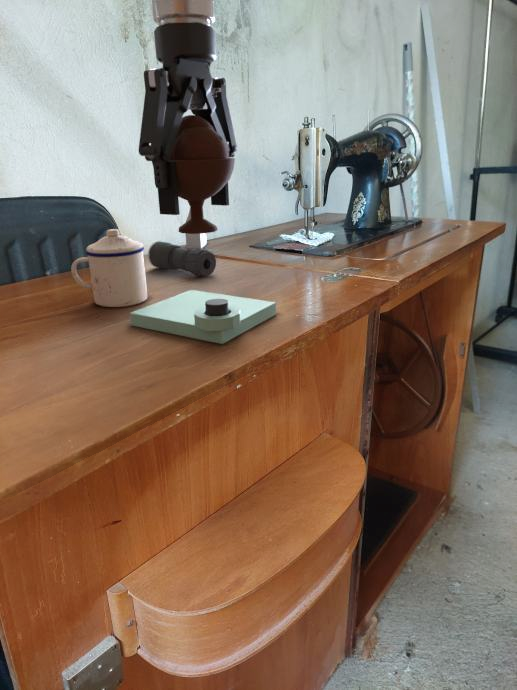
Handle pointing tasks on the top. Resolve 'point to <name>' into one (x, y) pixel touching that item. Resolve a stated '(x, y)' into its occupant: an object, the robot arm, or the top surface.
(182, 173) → the ice cream bowl
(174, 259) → the flashlight
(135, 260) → the teacup with lid
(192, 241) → the white pointed block
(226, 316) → the scale
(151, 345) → the top surface
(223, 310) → the tare button
